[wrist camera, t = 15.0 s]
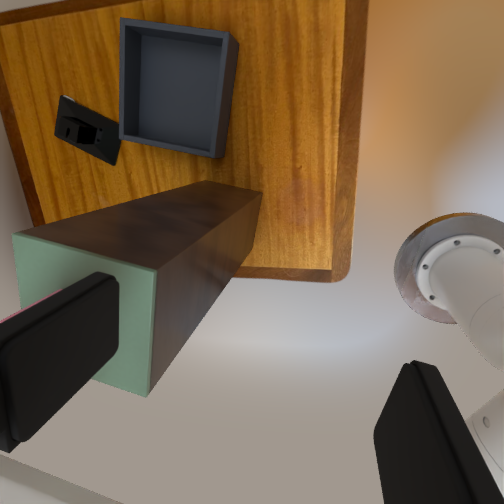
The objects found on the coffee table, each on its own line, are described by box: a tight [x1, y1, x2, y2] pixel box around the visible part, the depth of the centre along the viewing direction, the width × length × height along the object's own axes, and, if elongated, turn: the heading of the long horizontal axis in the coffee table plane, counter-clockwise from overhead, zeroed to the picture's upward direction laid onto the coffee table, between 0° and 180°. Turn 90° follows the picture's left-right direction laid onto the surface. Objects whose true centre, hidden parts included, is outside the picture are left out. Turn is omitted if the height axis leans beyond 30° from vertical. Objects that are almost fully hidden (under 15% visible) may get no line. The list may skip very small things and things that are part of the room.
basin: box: [119, 17, 239, 158], centre depth 44 cm, size 16×16×5 cm
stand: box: [12, 180, 263, 397], centre depth 36 cm, size 10×10×34 cm
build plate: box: [54, 95, 121, 166], centre depth 50 cm, size 12×7×5 cm, turn 66°
